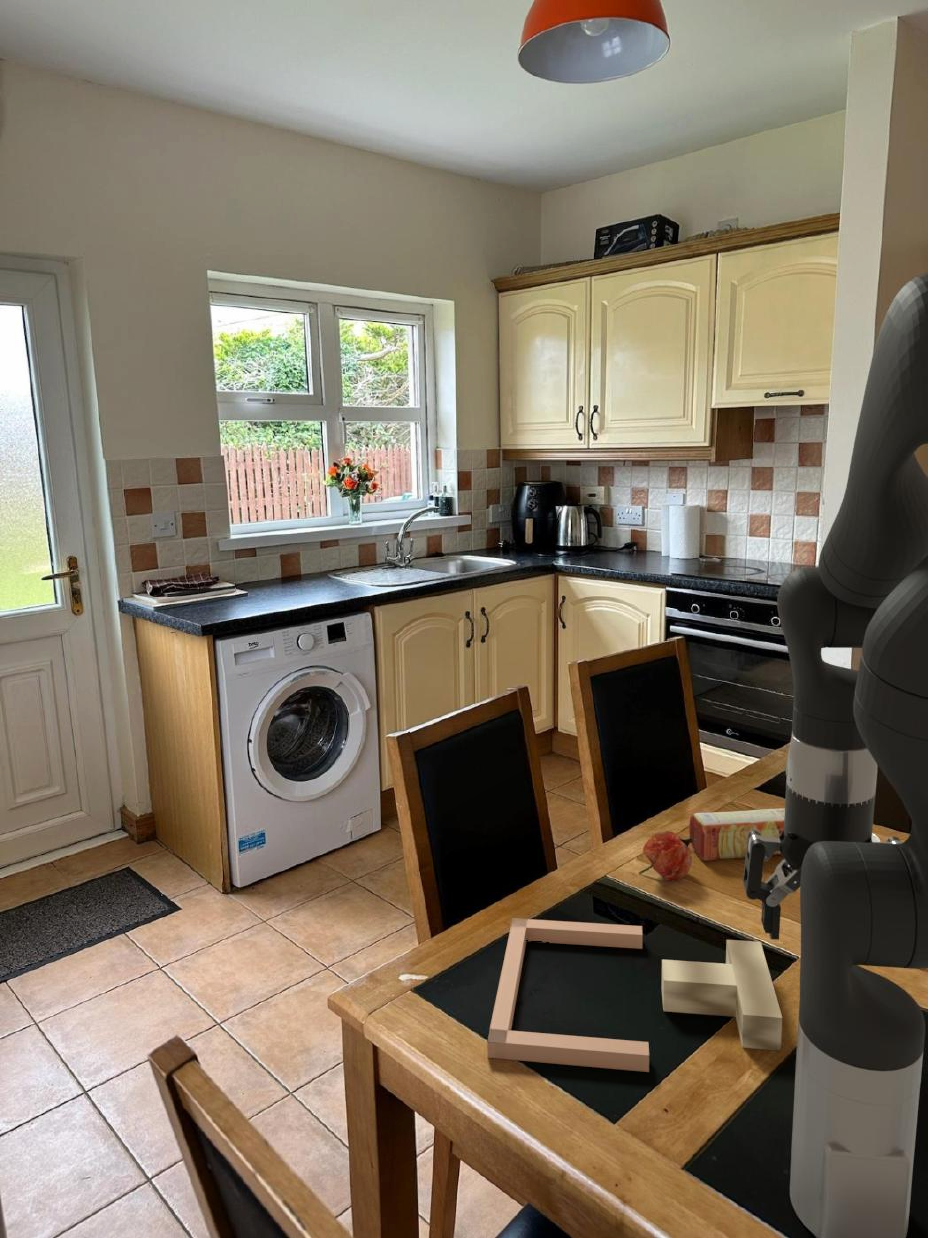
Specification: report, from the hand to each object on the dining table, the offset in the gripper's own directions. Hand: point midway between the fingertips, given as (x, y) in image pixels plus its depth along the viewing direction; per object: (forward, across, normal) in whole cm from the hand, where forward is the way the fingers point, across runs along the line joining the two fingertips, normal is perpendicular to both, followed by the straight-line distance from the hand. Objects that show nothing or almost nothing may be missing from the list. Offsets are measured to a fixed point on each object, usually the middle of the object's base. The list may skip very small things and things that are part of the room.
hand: (819, 938), depth 82 cm
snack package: (+20, +3, +51) cm, 55 cm away
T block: (+18, -8, +12) cm, 23 cm away
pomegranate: (+19, -12, +41) cm, 47 cm away
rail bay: (+18, -23, +12) cm, 32 cm away
